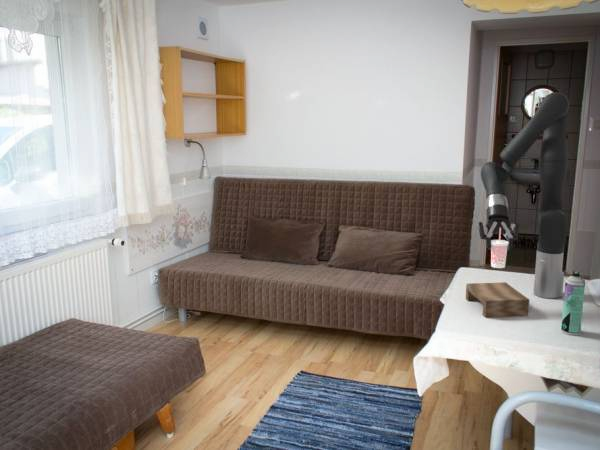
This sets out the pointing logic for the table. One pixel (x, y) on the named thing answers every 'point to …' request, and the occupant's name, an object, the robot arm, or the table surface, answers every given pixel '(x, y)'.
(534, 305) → the table surface
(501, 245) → the beverage cup
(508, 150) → the robot arm
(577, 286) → the spray can
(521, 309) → the walnut shelf stand
